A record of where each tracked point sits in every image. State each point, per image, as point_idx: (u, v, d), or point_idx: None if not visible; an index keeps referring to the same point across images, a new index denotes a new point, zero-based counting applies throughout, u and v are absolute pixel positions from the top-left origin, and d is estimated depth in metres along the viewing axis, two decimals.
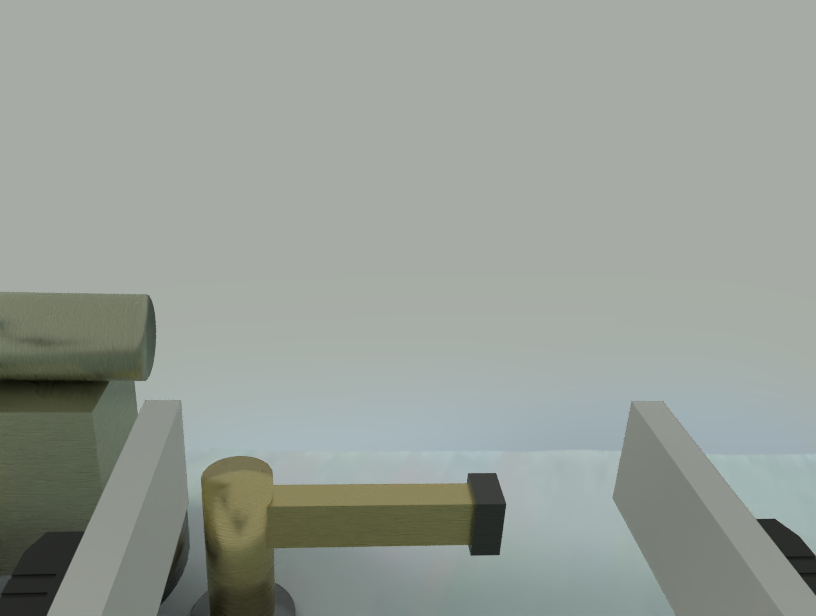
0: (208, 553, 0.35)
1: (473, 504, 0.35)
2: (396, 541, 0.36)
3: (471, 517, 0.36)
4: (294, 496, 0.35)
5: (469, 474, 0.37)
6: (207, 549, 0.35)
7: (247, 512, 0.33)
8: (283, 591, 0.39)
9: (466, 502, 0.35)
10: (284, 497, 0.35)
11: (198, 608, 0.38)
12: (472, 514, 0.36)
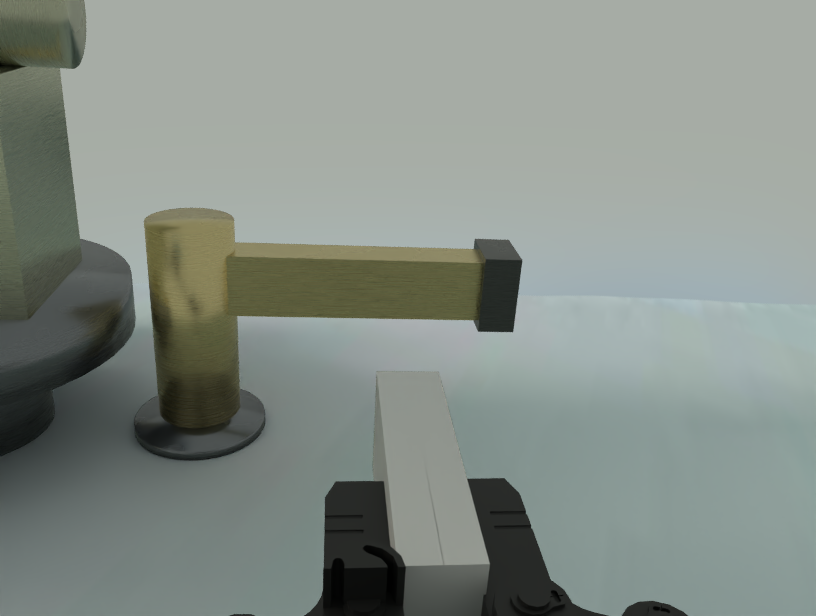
0: (154, 319, 0.28)
1: (481, 263, 0.29)
2: (387, 312, 0.29)
3: (479, 281, 0.29)
4: (261, 250, 0.28)
5: (476, 239, 0.30)
6: (153, 314, 0.28)
7: (200, 256, 0.27)
8: (251, 396, 0.33)
9: (473, 262, 0.29)
10: (248, 251, 0.28)
11: (147, 408, 0.31)
12: (480, 279, 0.29)
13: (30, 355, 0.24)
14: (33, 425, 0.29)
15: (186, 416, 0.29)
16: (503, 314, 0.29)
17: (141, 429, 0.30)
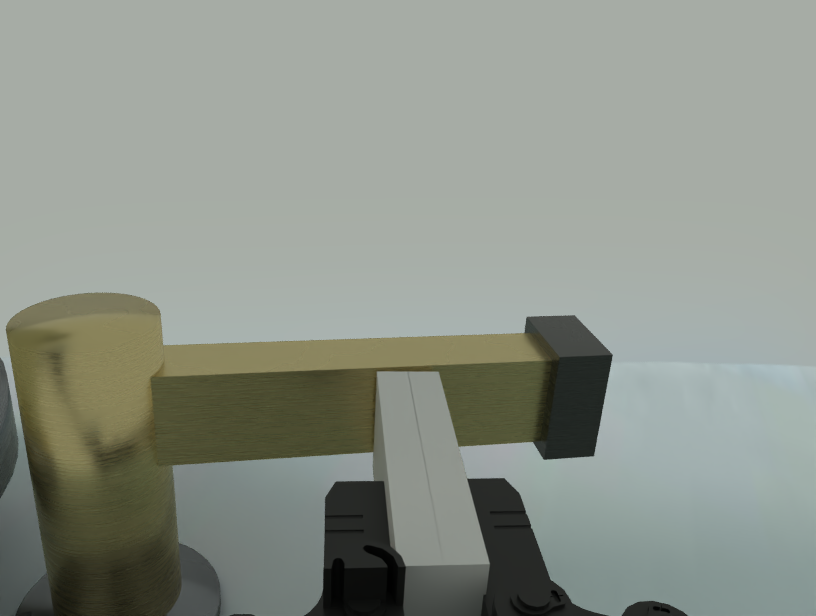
0: (34, 482, 0.17)
1: (550, 361, 0.19)
2: None
3: (545, 387, 0.19)
4: (207, 360, 0.18)
5: (529, 318, 0.20)
6: (32, 474, 0.17)
7: (107, 385, 0.16)
8: (202, 561, 0.22)
9: (536, 358, 0.19)
10: (187, 362, 0.18)
11: (39, 592, 0.20)
12: (546, 382, 0.19)
13: None
14: None
15: None
16: (581, 433, 0.19)
17: None
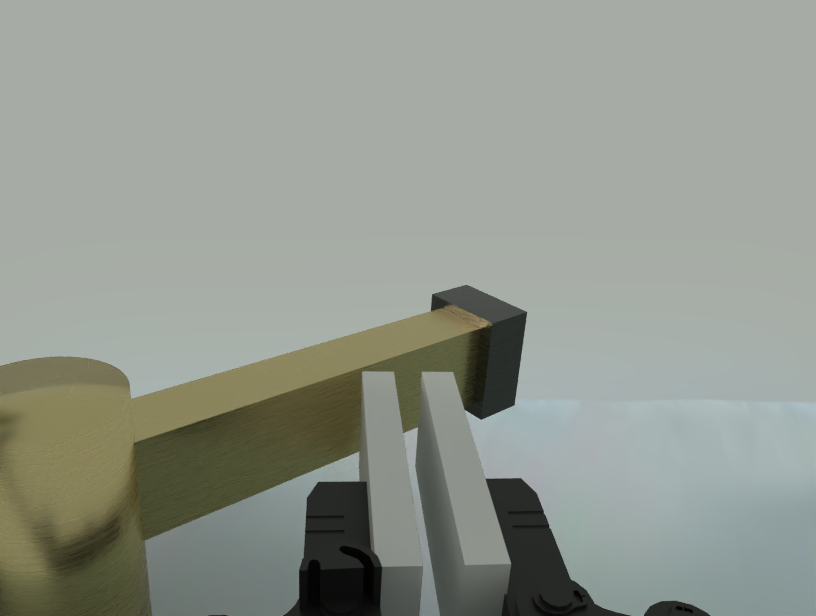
0: (2, 610, 0.14)
1: (479, 329, 0.20)
2: None
3: (476, 354, 0.21)
4: (177, 408, 0.16)
5: (435, 294, 0.22)
6: None
7: (104, 463, 0.14)
8: None
9: (467, 330, 0.20)
10: (157, 416, 0.15)
11: None
12: (474, 349, 0.21)
13: None
14: None
15: None
16: (506, 387, 0.22)
17: None
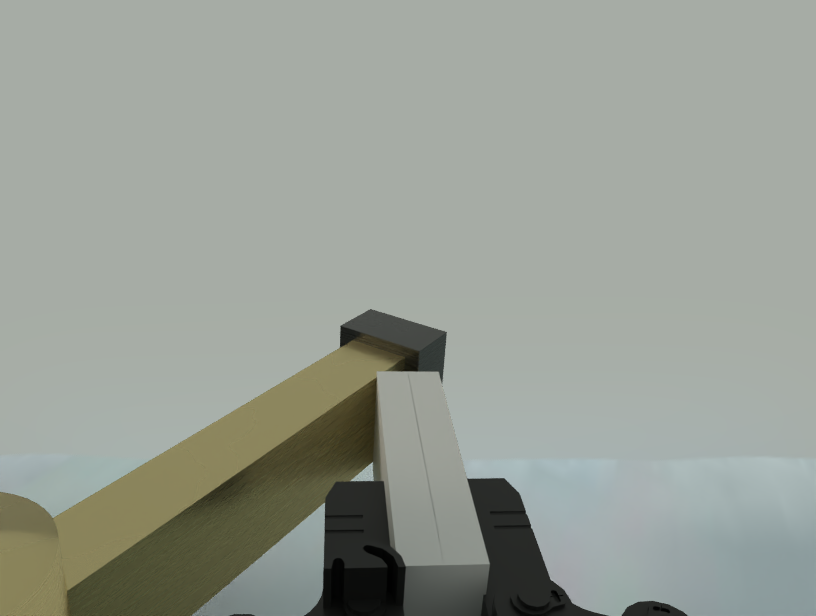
0: None
1: (404, 358, 0.19)
2: (316, 499, 0.17)
3: None
4: (104, 527, 0.12)
5: (344, 326, 0.20)
6: None
7: None
8: None
9: (391, 361, 0.19)
10: (82, 544, 0.12)
11: None
12: None
13: None
14: None
15: None
16: None
17: None
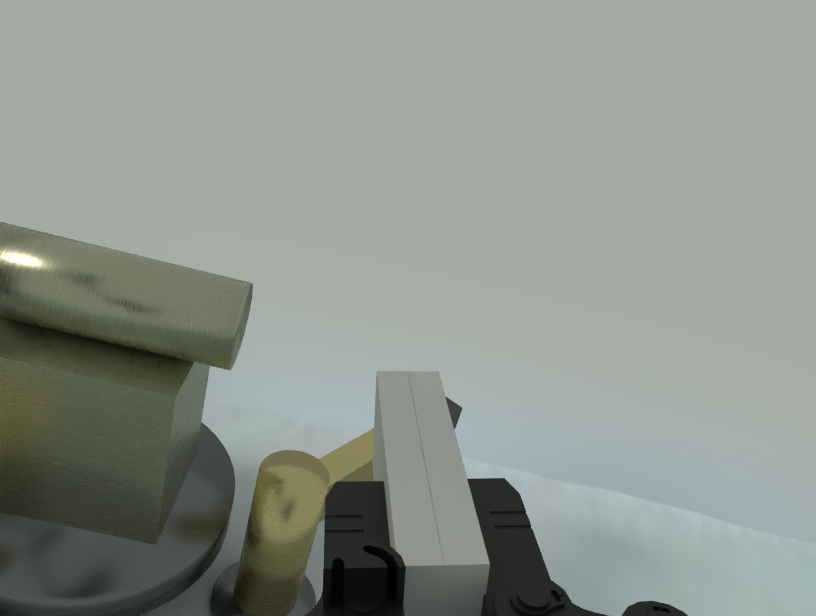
0: (272, 557, 0.34)
1: None
2: None
3: None
4: (330, 470, 0.36)
5: None
6: (270, 554, 0.34)
7: (323, 502, 0.34)
8: (306, 581, 0.39)
9: None
10: None
11: (222, 580, 0.38)
12: None
13: (156, 586, 0.31)
14: None
15: (285, 609, 0.36)
16: None
17: (217, 607, 0.37)
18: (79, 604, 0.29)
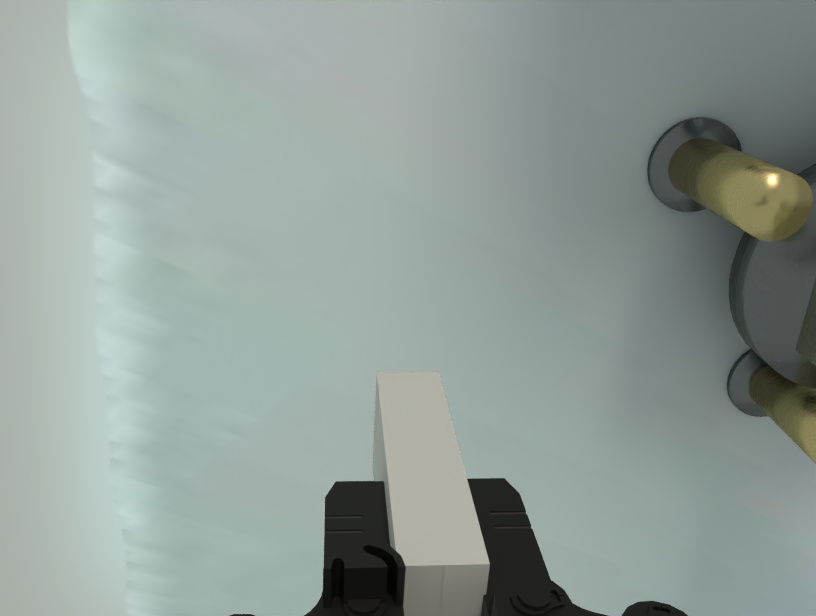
0: (787, 419, 0.43)
1: None
2: None
3: None
4: None
5: None
6: (789, 419, 0.43)
7: None
8: None
9: None
10: None
11: None
12: None
13: (759, 354, 0.41)
14: None
15: (756, 403, 0.47)
16: None
17: None
18: (743, 312, 0.40)
